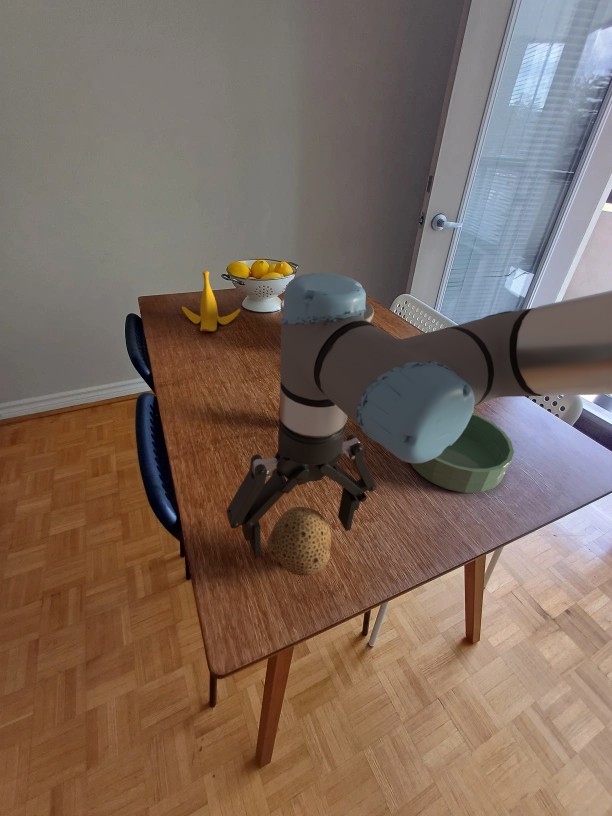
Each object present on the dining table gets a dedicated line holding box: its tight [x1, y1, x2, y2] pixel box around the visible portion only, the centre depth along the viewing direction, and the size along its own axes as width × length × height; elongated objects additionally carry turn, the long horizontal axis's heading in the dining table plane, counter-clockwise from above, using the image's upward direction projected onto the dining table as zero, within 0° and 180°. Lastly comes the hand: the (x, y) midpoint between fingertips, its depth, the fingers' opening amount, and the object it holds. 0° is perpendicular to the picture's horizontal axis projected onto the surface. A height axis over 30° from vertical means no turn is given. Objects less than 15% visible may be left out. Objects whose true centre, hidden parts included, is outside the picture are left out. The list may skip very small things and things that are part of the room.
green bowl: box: [409, 412, 515, 494], centre depth 80 cm, size 20×20×6 cm
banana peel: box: [181, 270, 242, 332], centre depth 121 cm, size 17×19×17 cm
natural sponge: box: [266, 506, 332, 576], centre depth 57 cm, size 9×9×10 cm
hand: (301, 535), depth 57 cm, fingers open, 13 cm apart
